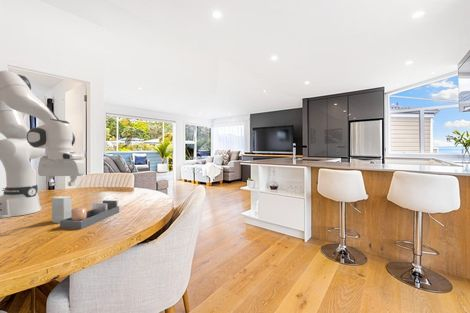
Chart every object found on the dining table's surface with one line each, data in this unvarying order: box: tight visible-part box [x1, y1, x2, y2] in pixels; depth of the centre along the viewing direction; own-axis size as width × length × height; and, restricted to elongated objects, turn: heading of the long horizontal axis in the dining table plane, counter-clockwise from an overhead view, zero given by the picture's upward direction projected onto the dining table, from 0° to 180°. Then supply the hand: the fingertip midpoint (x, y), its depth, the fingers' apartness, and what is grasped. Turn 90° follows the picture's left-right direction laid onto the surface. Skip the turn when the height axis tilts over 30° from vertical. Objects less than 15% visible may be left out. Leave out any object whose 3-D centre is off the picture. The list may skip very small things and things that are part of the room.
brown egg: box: [71, 206, 87, 221], centre depth 90 cm, size 5×5×7 cm
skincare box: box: [51, 195, 72, 224], centre depth 95 cm, size 6×4×12 cm
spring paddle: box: [92, 202, 107, 216], centre depth 102 cm, size 7×1×6 cm, turn 85°
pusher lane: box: [59, 199, 120, 230], centre depth 98 cm, size 10×24×7 cm, turn 174°
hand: (61, 185), depth 95 cm, fingers open, 8 cm apart
